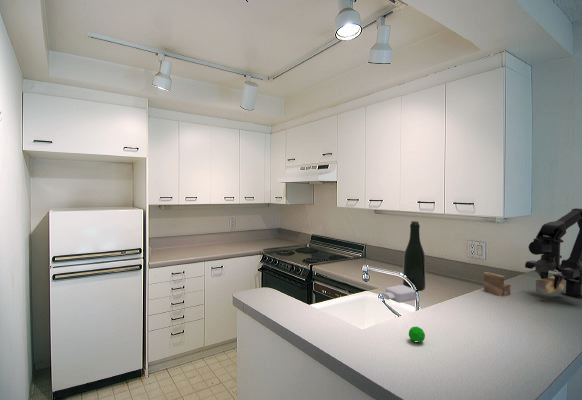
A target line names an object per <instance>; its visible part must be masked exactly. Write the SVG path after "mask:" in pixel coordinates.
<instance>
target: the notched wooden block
mask: <svg viewBox="0 0 582 400" xmlns="http://www.w3.org/2000/svg"><path fill="white" fill-rule="evenodd" d="M483 275H484V277H483V278H484V281H483V292H487V293H491V294H493V295H496V296H499V297H504V296H509V295H511V284H509V283H505V278H506V277H505V275H501V274H496V273H493V272H490V271H484V272H483Z"/></svg>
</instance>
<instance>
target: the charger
mask: <svg viewBox="0 0 582 400" xmlns="http://www.w3.org/2000/svg"><path fill="white" fill-rule="evenodd" d="M416 292H417V291H415V290H414V289H412V288H409V287H407V286H404V285H403V284H399V285H393V286H388V287H386V288H385V292H383V293H381V295H380V296H379V297H381V298H383V299H385V300H387V301H390V300H392V301H393V302H396V303H398V304H399V303H405V302H408V301H409V302H411V301H415V300H416Z"/></svg>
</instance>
